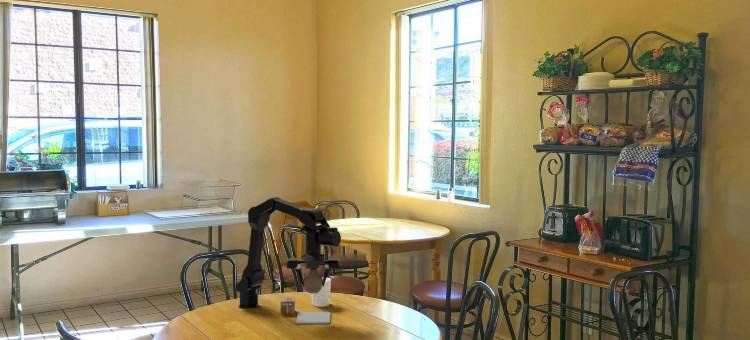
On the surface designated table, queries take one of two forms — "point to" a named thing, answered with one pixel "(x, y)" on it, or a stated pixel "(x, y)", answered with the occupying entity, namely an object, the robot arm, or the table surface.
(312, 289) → the vase
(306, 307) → the table surface
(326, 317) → the grey mat
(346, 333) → the table surface
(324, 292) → the white cup
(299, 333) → the table surface
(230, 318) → the table surface
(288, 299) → the letter cube
